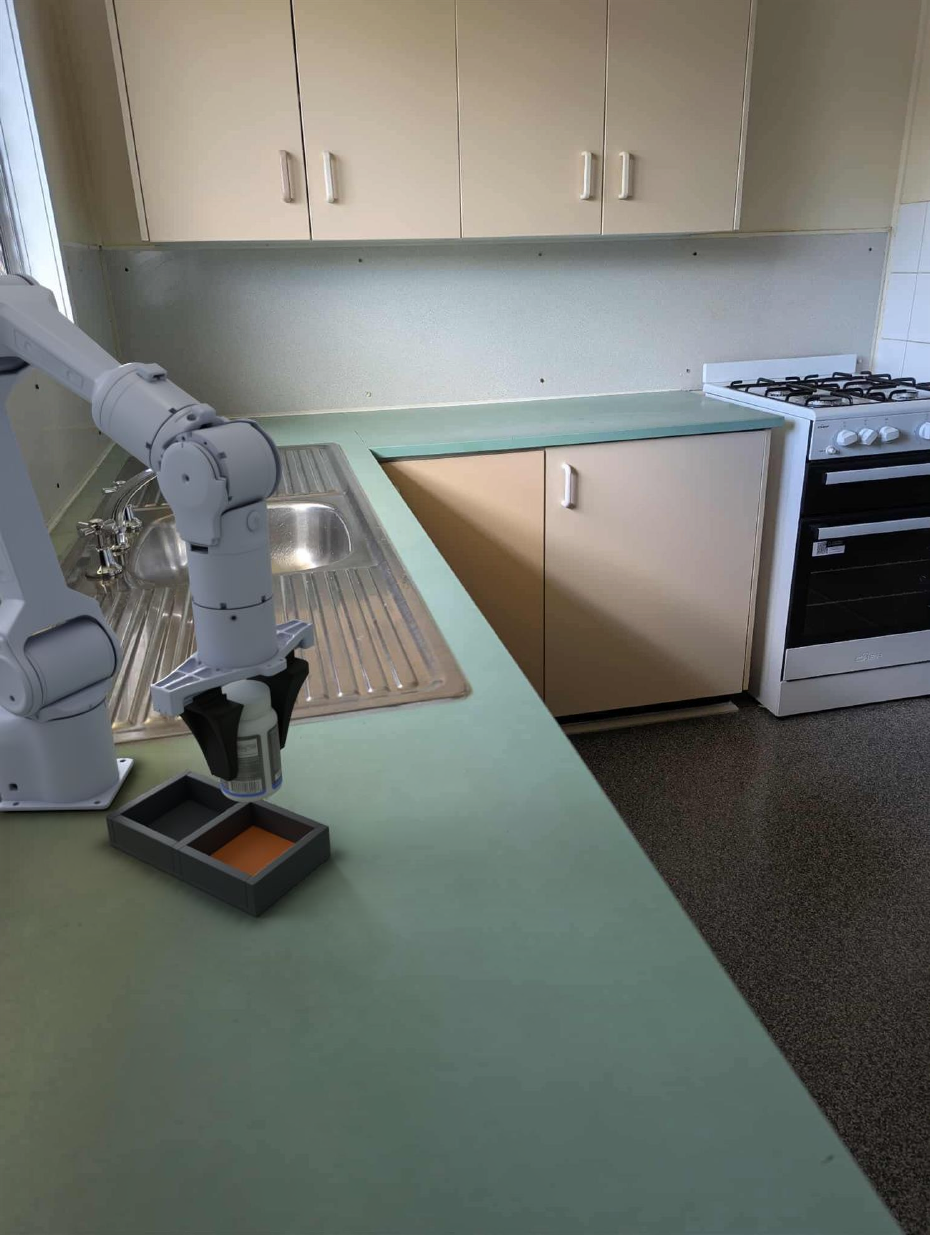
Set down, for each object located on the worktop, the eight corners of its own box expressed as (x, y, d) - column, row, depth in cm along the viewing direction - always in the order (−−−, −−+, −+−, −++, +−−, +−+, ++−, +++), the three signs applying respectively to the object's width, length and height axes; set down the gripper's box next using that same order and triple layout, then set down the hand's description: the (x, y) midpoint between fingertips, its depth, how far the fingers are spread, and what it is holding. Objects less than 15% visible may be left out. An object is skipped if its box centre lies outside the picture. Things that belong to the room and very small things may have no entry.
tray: (110, 845, 72) (105, 815, 71) (190, 796, 79) (186, 768, 78) (256, 917, 65) (253, 885, 63) (330, 856, 71) (329, 826, 70)
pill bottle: (257, 764, 72) (248, 671, 68) (295, 784, 69) (288, 689, 66) (208, 789, 68) (196, 692, 65) (246, 811, 65) (236, 711, 62)
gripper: (195, 641, 55) (215, 823, 60) (340, 577, 66) (348, 734, 71) (120, 618, 58) (146, 793, 63) (271, 562, 70) (283, 713, 75)
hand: (248, 760), depth 68 cm, fingers closed on pill bottle, 5 cm apart
